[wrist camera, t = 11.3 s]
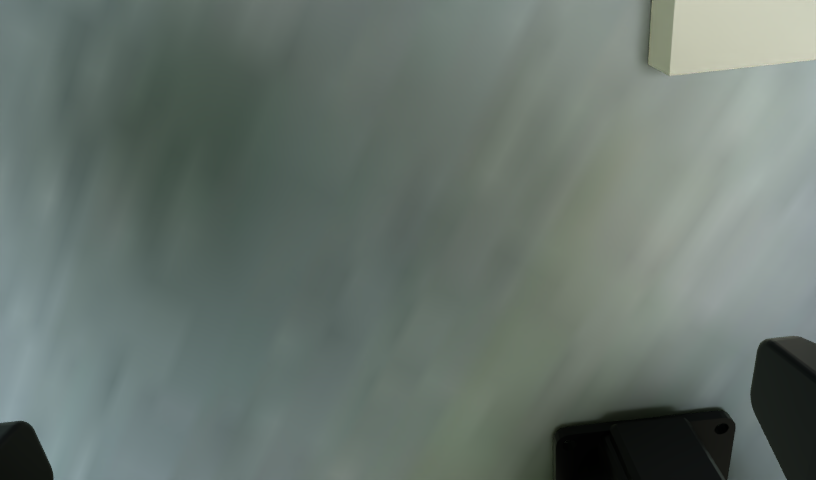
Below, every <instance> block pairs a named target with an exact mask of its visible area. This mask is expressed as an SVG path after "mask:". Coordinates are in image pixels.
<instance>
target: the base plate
mask: <svg viewBox="0 0 816 480" xmlns="http://www.w3.org/2000/svg"><path fill="white" fill-rule="evenodd" d="M809 60H816V0H652V6H651V22H650V39H649V56H648V65H650V66H652V67H654V68H656V69H658V70H659V71H661V72H663V73H665V74H667V75H668V76H674V75H683V74H692V73H701V72H710V71H719V70H728V69H737V68H746V67H755V66H764V65H773V64H782V63H791V62H800V61H809Z"/></svg>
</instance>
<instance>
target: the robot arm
mask: <svg viewBox="0 0 816 480" xmlns="http://www.w3.org/2000/svg"><path fill="white" fill-rule="evenodd" d="M750 395H751V403H752V407H753V410H754V413H755V415H756V417H757V419H758V421H759V423H760V425H761V427H762V429H763V431H764V434H765V436H766V438H767V440H768V442H769V444H770V446H771V448H772V450H773V452H774V454H775V456H776V458H777V460H778V462H779V464H780V466H781V468H782V470H783V473H784V475H785V477H786V479H787V480H816V343H813V342H811V341H809V340H806V339H804V338H802V337H798V336H787V337H778V338H769V339H765V340H764V341H762V342H761V343H760V345H759V347H758V350H757V355H756V361H755V367H754V373H753V379H752V385H751V394H750ZM719 424H721V425H719ZM717 425H719V426H717ZM734 433H735V423H734V421H733V420H732V418H731V417H730V416H729V414H728V413H727V412H725V411H709V412H700V413H691V414H682V415H672V416H663V417H654V418H645V419H636V420H626V421H617V422H608V423H599V424H589V425H580V426H571V427H565V428H561V429H560V430H558V431H557V432H556V433H555V434H554V437H553V480H727V478H728V472H729V465H730V459H731V452H732V446H733V440H734ZM567 440H572V441H570V442H568V443H564V442H565V441H567ZM0 480H53V471H52V468H51V465H50V463H49V461H48V459H47V457H46V454H45V452H44V450H43V448H42V446H41V444H40V441H39V439H38V437H37V435H36V433H35V431H34V429H33V427H32V426H31V425H30V424H29V423H27V422H24V421H14V422H5V423H0Z"/></svg>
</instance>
